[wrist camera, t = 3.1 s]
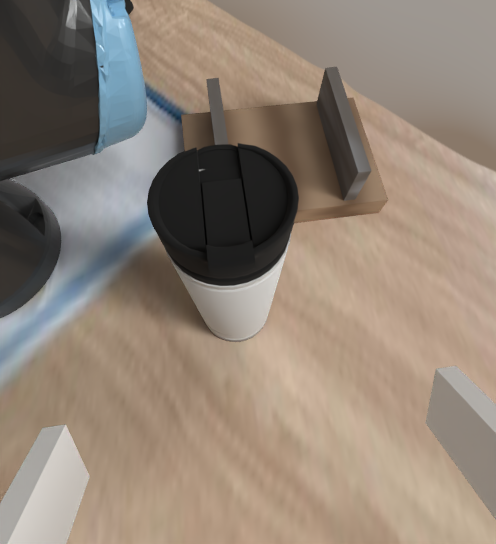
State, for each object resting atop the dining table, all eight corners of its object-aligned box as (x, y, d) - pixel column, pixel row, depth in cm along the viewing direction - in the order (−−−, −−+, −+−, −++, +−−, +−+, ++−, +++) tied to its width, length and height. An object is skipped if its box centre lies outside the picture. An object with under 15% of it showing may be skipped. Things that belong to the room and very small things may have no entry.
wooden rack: (194, 235, 34) (183, 197, 27) (185, 131, 39) (173, 78, 32) (378, 212, 35) (409, 171, 29) (346, 114, 40) (366, 60, 33)
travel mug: (206, 350, 30) (142, 277, 11) (200, 283, 32) (139, 129, 13) (273, 341, 30) (319, 256, 12) (263, 275, 33) (287, 115, 14)
